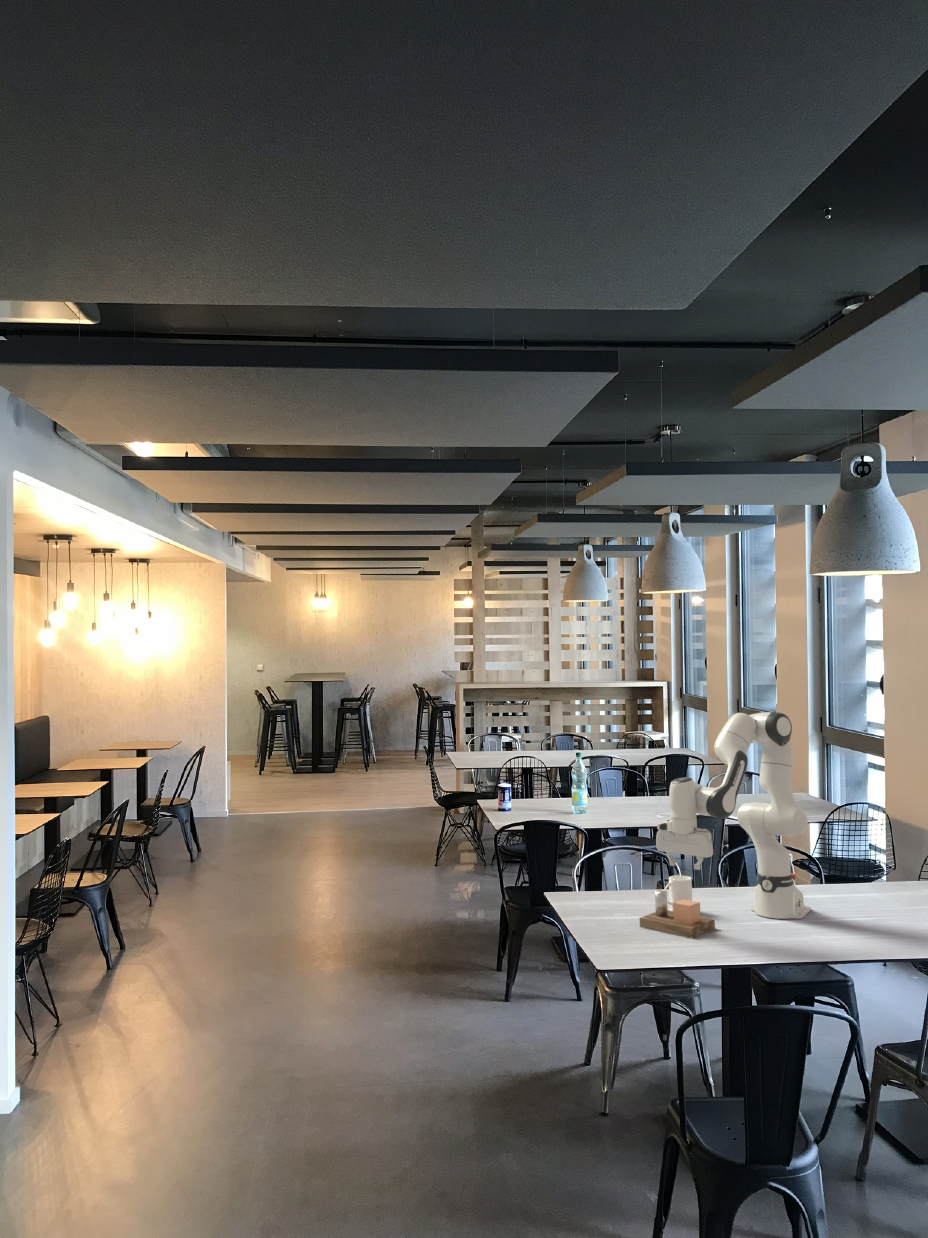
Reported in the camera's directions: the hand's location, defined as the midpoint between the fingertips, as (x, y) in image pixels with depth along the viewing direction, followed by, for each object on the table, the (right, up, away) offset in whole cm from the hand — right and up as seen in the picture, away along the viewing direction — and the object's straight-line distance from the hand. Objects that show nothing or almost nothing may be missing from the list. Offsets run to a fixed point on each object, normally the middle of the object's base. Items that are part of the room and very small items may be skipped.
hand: (684, 867), depth 289 cm
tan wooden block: (0, -18, -1) cm, 18 cm away
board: (-2, -21, +1) cm, 21 cm away
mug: (+3, -23, +22) cm, 31 cm away
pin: (-7, -18, +6) cm, 20 cm away
